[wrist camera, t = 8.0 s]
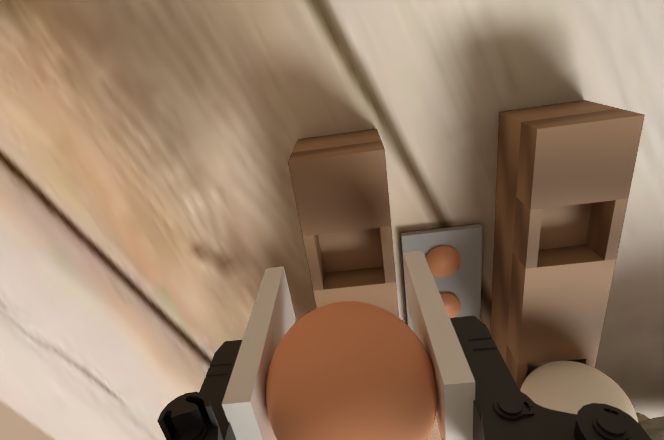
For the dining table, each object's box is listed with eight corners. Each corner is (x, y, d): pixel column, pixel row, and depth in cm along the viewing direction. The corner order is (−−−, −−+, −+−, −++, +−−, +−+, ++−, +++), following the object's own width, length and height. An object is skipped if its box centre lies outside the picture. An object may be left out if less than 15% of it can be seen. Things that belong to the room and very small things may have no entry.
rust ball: (267, 278, 13) (223, 406, 8) (416, 262, 12) (456, 390, 8) (294, 384, 15) (271, 534, 10) (423, 375, 14) (458, 527, 10)
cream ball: (505, 344, 20) (551, 430, 16) (603, 335, 20) (680, 422, 15) (501, 409, 22) (541, 502, 18) (590, 402, 22) (654, 496, 17)
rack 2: (499, 112, 19) (537, 129, 15) (584, 100, 18) (644, 114, 15) (488, 389, 27) (511, 444, 23) (547, 384, 26) (580, 439, 23)
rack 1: (298, 139, 19) (288, 162, 16) (376, 128, 19) (384, 149, 16) (345, 401, 27) (345, 455, 24) (401, 396, 27) (410, 451, 23)
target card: (400, 232, 22) (401, 237, 21) (480, 223, 21) (483, 228, 21) (407, 329, 25) (409, 335, 24) (478, 322, 24) (480, 328, 24)
